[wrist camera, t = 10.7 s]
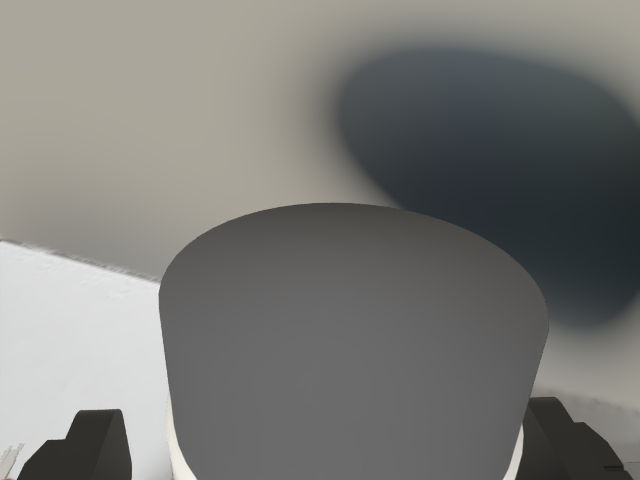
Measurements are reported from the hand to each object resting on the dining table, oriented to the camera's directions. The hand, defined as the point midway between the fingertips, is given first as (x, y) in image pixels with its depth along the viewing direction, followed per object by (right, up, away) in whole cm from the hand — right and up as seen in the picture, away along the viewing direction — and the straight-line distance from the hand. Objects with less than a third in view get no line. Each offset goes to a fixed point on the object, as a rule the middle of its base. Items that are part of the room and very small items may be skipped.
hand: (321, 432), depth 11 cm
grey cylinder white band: (0, -10, +3) cm, 10 cm away
